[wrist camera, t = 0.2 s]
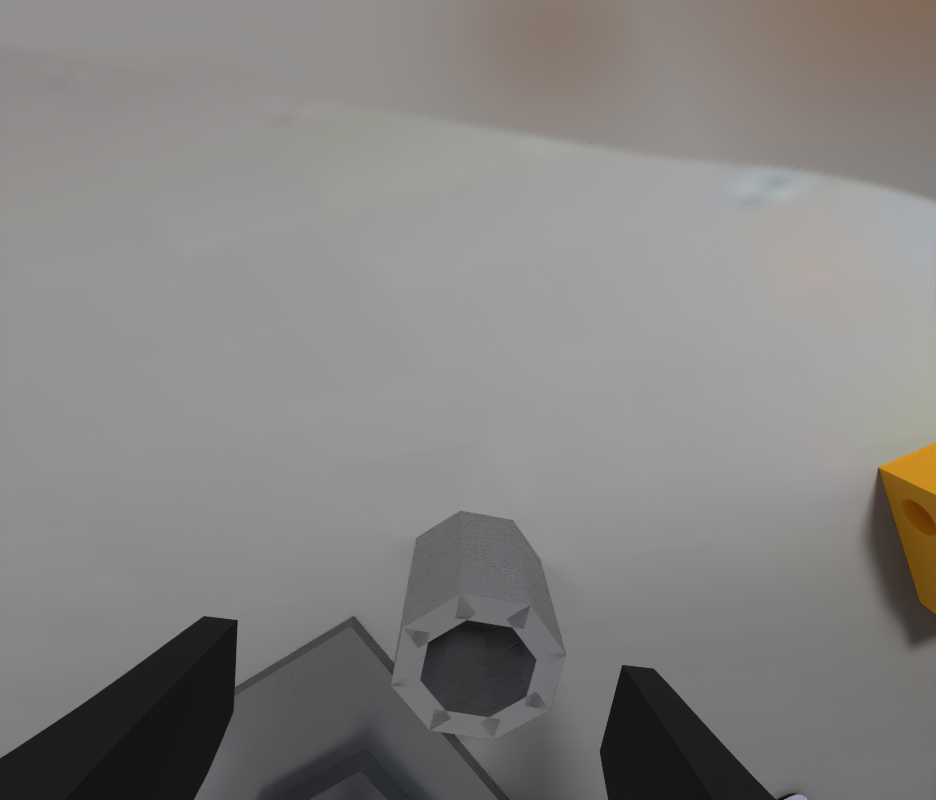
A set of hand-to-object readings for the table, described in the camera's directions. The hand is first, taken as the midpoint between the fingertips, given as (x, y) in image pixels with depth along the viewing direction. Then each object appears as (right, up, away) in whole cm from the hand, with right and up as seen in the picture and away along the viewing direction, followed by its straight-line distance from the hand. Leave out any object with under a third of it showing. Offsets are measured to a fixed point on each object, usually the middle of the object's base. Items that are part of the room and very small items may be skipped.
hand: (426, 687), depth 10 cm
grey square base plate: (-4, -13, +13) cm, 19 cm away
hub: (+1, -1, +10) cm, 10 cm away
